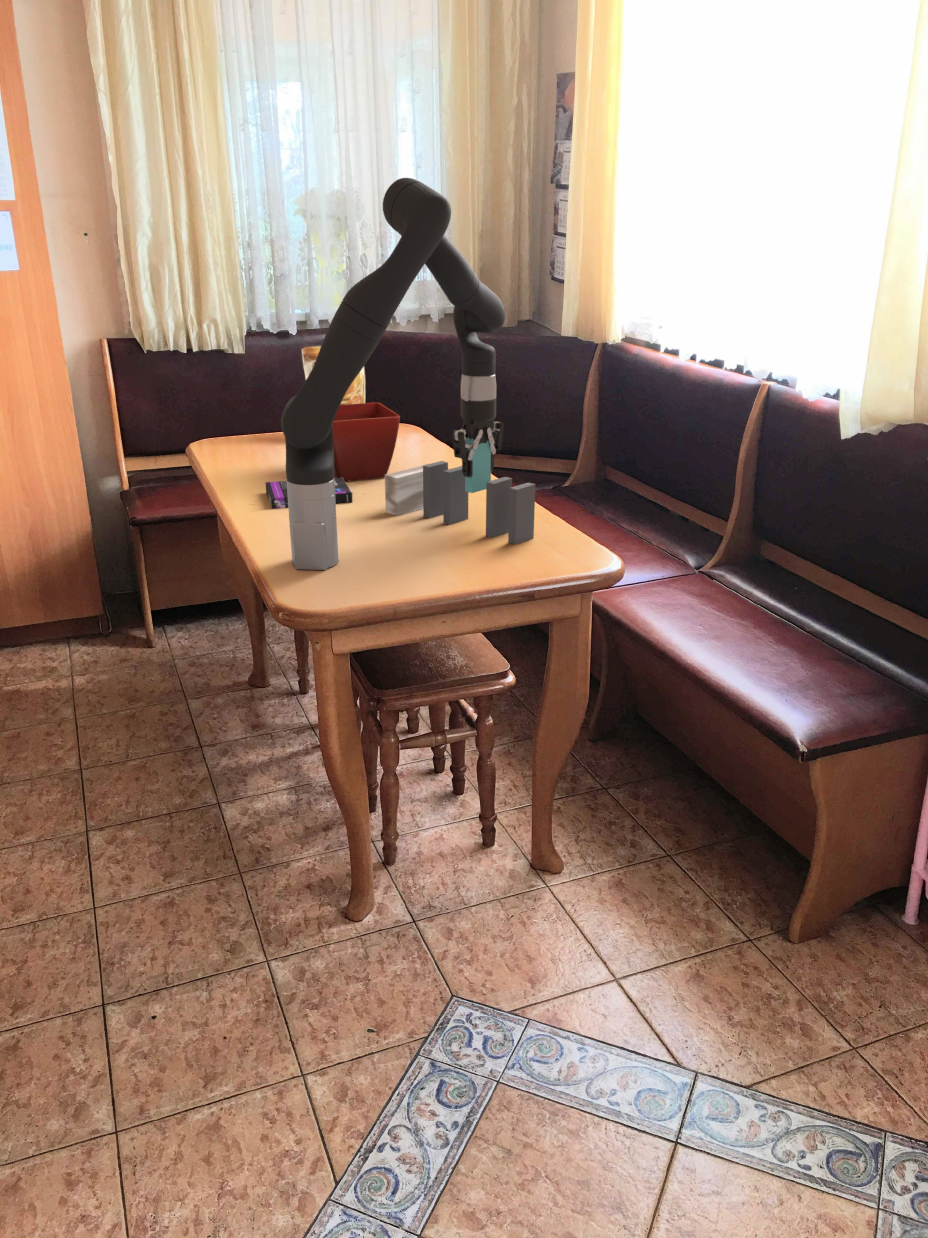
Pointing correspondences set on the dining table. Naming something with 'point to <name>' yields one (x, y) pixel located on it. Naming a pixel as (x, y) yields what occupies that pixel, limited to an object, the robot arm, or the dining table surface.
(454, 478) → the domino
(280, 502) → the box
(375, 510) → the dining table surface
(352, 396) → the pancake mix bag
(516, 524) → the domino
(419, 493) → the block
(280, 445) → the dining table surface
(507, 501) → the domino
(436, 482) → the domino
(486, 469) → the domino
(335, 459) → the plant pot
